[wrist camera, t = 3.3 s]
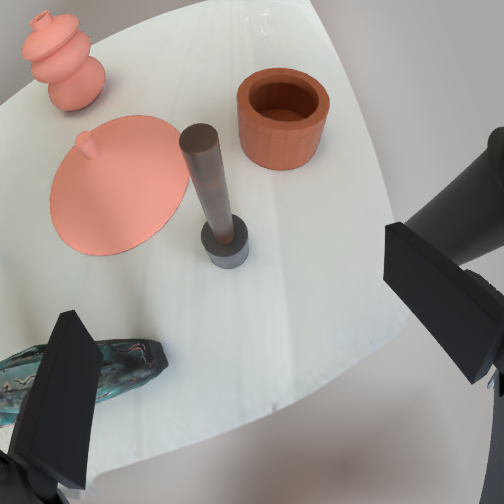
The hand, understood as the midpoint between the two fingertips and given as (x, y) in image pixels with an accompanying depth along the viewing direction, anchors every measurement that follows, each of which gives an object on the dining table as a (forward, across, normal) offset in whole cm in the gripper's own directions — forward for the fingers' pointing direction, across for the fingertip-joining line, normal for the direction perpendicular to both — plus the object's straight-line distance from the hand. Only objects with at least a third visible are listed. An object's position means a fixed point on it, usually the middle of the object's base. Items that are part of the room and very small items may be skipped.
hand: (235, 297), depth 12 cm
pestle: (+20, 0, -9) cm, 22 cm away
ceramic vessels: (+35, -14, +5) cm, 38 cm away
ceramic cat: (+13, -18, -16) cm, 28 cm away
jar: (+29, +10, 0) cm, 31 cm away
